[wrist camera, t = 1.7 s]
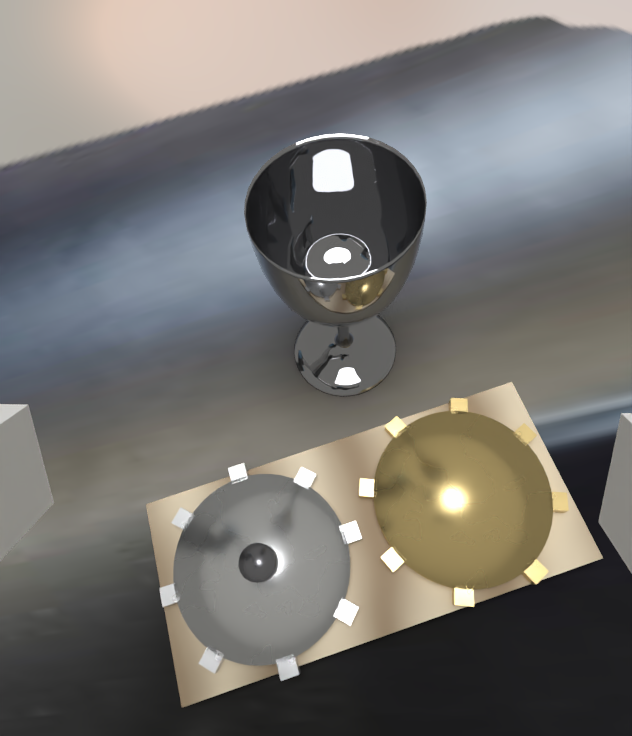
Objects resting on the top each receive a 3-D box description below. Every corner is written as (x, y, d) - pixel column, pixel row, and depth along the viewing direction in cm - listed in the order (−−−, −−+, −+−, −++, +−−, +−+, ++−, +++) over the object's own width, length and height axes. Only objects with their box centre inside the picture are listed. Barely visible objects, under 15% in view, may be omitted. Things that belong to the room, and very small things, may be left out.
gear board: (191, 708, 28) (169, 723, 25) (154, 503, 33) (131, 494, 30) (594, 564, 29) (623, 562, 26) (503, 386, 34) (518, 365, 31)
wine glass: (425, 345, 36) (465, 193, 22) (347, 425, 34) (337, 315, 20) (342, 280, 38) (331, 107, 24) (265, 351, 36) (206, 209, 23)
